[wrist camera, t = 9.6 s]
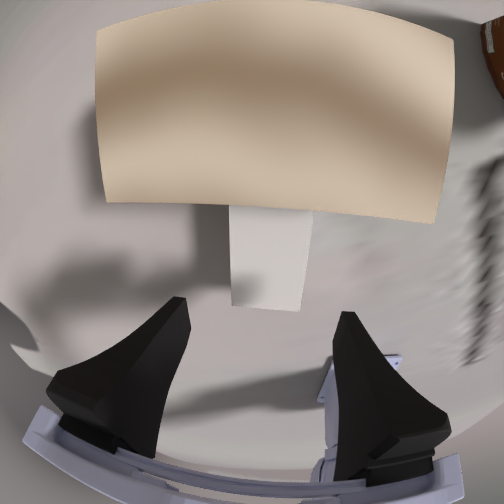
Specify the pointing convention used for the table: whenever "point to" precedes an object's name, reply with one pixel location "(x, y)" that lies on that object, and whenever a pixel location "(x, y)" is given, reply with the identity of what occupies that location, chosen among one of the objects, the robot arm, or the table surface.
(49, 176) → the table surface
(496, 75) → the food container
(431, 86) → the cubby
